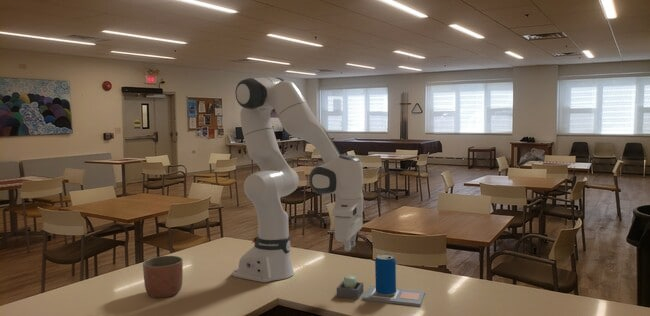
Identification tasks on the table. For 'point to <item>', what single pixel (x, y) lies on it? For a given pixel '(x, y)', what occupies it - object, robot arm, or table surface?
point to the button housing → (350, 291)
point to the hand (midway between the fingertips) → (349, 248)
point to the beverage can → (385, 274)
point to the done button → (350, 282)
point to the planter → (163, 275)
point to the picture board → (396, 296)
